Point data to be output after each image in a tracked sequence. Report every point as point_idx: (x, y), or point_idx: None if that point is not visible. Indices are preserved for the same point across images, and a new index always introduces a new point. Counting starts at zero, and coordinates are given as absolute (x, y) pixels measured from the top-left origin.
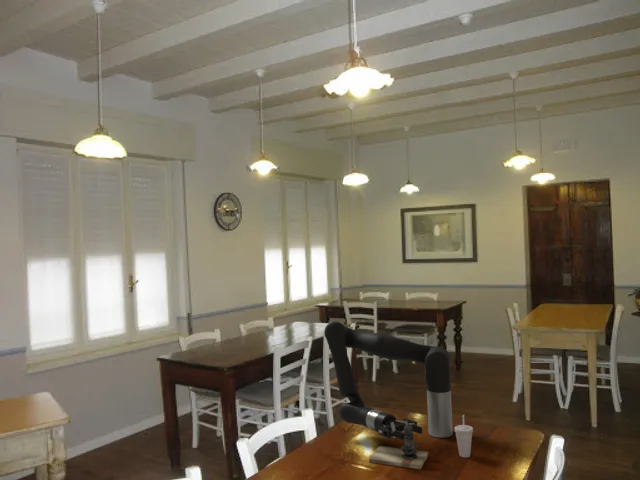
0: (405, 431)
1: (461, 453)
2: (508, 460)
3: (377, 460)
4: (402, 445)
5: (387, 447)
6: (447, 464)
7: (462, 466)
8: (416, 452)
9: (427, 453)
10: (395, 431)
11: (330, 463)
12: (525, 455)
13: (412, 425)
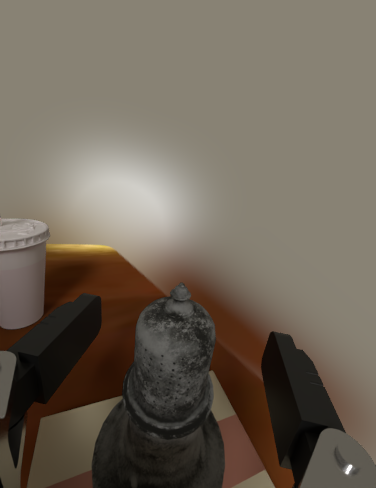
0: (209, 365)
1: (40, 308)
2: (47, 257)
3: None
4: None
5: None
6: (120, 330)
7: (116, 301)
8: (68, 484)
9: (61, 413)
10: (324, 437)
11: None
12: None
13: (18, 376)
